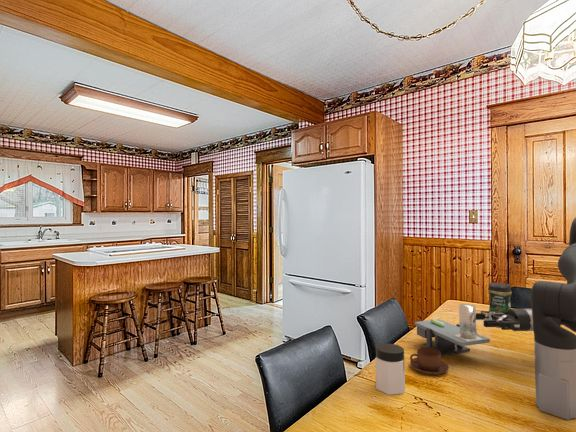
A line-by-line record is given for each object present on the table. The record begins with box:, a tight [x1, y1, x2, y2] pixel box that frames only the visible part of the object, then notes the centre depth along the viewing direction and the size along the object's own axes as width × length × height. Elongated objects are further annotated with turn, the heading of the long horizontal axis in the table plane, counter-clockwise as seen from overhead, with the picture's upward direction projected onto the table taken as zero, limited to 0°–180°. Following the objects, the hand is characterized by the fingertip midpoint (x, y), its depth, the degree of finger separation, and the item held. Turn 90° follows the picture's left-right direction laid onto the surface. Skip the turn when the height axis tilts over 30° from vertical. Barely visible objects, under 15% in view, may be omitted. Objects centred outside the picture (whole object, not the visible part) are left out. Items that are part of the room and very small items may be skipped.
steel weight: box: [458, 303, 478, 339], centre depth 120 cm, size 5×5×11 cm
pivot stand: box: [420, 323, 471, 357], centre depth 131 cm, size 8×16×9 cm, turn 106°
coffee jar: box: [487, 282, 513, 320], centre depth 166 cm, size 10×8×19 cm
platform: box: [414, 318, 491, 347], centre depth 129 cm, size 25×12×7 cm, turn 16°
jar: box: [374, 342, 406, 396], centre depth 102 cm, size 9×8×12 cm
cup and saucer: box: [409, 347, 450, 375], centre depth 115 cm, size 12×12×6 cm
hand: (477, 319), depth 120 cm, fingers open, 8 cm apart
